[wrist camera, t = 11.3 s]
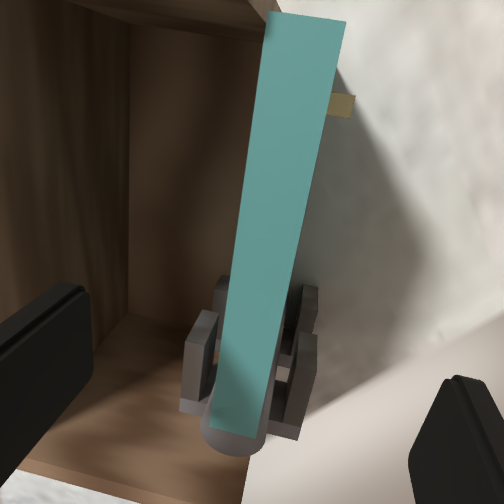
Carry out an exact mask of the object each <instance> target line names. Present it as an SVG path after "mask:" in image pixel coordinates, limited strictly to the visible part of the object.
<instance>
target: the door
mask: <svg viewBox="0 0 504 504" xmlns="http://www.w3.org/2000/svg"><path fill="white" fill-rule="evenodd" d="M345 26H346V22H345V21H338V20H331V19H324V18H317V17H310V16H303V15H296V14H289V13H282V12H276V11H269V10H268V14H267V21H266V28H265V35H264V42H263V49H262V56H261V63H260V70H259V77H258V84H257V91H256V99H255V106H254V113H253V120H252V127H251V134H250V141H249V148H248V155H247V162H246V169H245V176H244V183H243V190H242V198H241V205H240V212H239V219H238V226H237V233H236V240H235V247H234V254H233V261H232V268H231V275H230V282H229V290H228V297H227V304H226V311H225V318H224V325H223V332H222V339H221V346H220V353H219V360H218V367H217V374H216V381H215V384H214V386H213V389H212V392H211V395H210V397H209V400H208V403H207V405H206V408H205V411H204V414H203V416H202V419H201V422H200V432H201V435H202V437H203V438H204V440H205V441H206V443H207V444H208V445H209V446H211V447H212V448H213V449H215V450H216V451H218V452H220V453H222V454H225V455H228V456H234V457H245V456H250V455H253V454H255V453H256V452H258V451H259V450H260V449H261V448H262V447H263V445H264V443H265V438H266V432H267V426H268V420H269V413H270V407H271V401H272V395H273V389H274V382H275V376H276V370H277V364H278V358H279V352H280V345H281V339H282V333H283V327H284V321H285V314H286V308H287V302H288V296H289V292H288V287H289V283H290V278H291V274H292V269H293V264H294V260H295V255H296V251H297V246H298V241H299V237H300V232H301V228H302V223H303V219H304V214H305V209H306V205H307V200H308V196H309V191H310V186H311V182H312V177H313V173H314V168H315V163H316V159H317V154H318V150H319V145H320V140H321V136H322V131H323V127H324V122H325V117H326V115H332V116H338V117H344V118H349V119H350V117H351V113H352V109H353V105H354V100H355V96H354V95H348V94H342V93H336V92H331V90H332V85H333V81H334V76H335V71H336V67H337V62H338V58H339V53H340V48H341V44H342V39H343V35H344V30H345Z"/></svg>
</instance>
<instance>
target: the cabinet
mask: <svg viewBox="0 0 504 504" xmlns="http://www.w3.org/2000/svg"><path fill="white" fill-rule="evenodd" d="M268 10H269V11H276V12H282V11H281V9H280V7H279V5H278V3H277V1H276V0H0V323H2V322H3V321H4V320H6V319H7V318H9V317H10V316H11V315H13V314H14V313H16V312H17V311H19V310H20V309H21V308H23V307H24V306H26V305H27V304H28V303H30V302H31V301H33V300H34V299H36V298H37V297H38V296H40V295H41V294H43V293H44V292H45V291H47V290H48V289H50V288H51V287H53V286H54V285H55V284H57V283H59V282H61V281H65V282H69V283H73V284H78V285H82V286H83V287H84V288H85V290H86V292H87V293H89V295H90V302H91V322H92V342H93V362H94V370H93V374H92V377H91V379H90V380H89V382H88V383H87V384H86V385H85V387H84V388H83V389H82V390H81V391H80V393H79V394H78V395H77V396H76V397H75V399H74V400H73V401H72V402H71V403H70V405H69V406H68V407H67V408H66V409H65V411H64V412H63V413H62V414H61V415H60V417H59V418H58V419H57V420H56V421H55V423H54V424H53V425H52V426H51V427H50V429H49V430H48V431H47V432H46V433H45V435H44V436H43V437H42V438H41V439H40V441H39V442H38V443H37V444H36V445H35V447H34V448H33V449H32V450H31V451H30V453H29V454H28V455H27V456H26V457H25V459H24V460H23V461H22V462H21V463H20V465H19V466H18V467H17V468H16V469H18V470H22V471H26V472H29V473H33V474H36V475H40V476H44V477H47V478H51V479H54V480H58V481H62V482H65V483H69V484H72V485H76V486H80V487H83V488H87V489H90V490H94V491H97V492H101V493H105V494H108V495H112V496H115V497H119V498H123V499H126V500H130V501H133V502H137V503H141V504H241V501H242V496H243V491H244V486H245V481H246V476H247V470H248V465H249V460H250V456H245V457H234V456H228V455H225V454H222V453H220V452H218V451H216V450H215V449H213V448H212V447H211V446H209V445H208V444H207V443H206V441H205V440H204V438H203V437H202V435H201V432H200V422H201V419H202V416H203V414H204V411H205V408H206V405H207V403H208V400H209V397H210V395H211V392H212V389H213V386H214V384H215V381H216V374H217V367H218V360H219V353H220V346H221V339H222V332H223V325H224V318H225V311H226V304H227V297H228V290H229V282H230V275H231V268H232V261H233V254H234V247H235V240H236V233H237V226H238V219H239V212H240V205H241V198H242V190H243V183H244V176H245V169H246V162H247V155H248V148H249V141H250V134H251V127H252V120H253V113H254V106H255V99H256V91H257V84H258V77H259V70H260V63H261V56H262V49H263V42H264V35H265V28H266V21H267V14H268ZM317 312H318V288H317V287H312V286H307V285H304V286H303V290H302V294H301V299H300V303H299V307H298V312H297V316H296V320H295V325H294V329H293V330H292V329H288V328H283V333H282V339H281V345H280V352H279V358H278V364H277V365H278V366H282V367H287V368H290V373H289V377H288V381H287V383H286V382H282V381H278V380H275V382H274V389H273V395H272V401H271V407H270V413H269V420H268V426H267V432H266V433H268V434H272V435H276V436H280V437H284V438H288V439H292V440H296V441H297V440H298V437H299V434H300V430H301V426H302V423H303V419H304V415H305V412H306V408H307V405H308V401H309V397H310V394H311V390H312V387H313V383H314V379H315V376H316V372H317V335H316V334H312V331H313V327H314V323H315V319H316V316H317Z"/></svg>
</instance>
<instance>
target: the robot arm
mask: <svg viewBox="0 0 504 504" xmlns="http://www.w3.org/2000/svg"><path fill="white" fill-rule="evenodd" d="M93 370H94V362H93V342H92V322H91V302H90V295H89V293H87V292H86V290H85V288H84V287H83V286H82V285H78V284H73V283H69V282H65V281H61V282H59V283H57V284H55V285H54V286H53V287H51V288H50V289H48V290H47V291H45V292H44V293H43V294H41V295H40V296H38V297H37V298H36V299H34V300H33V301H31V302H30V303H28V304H27V305H26V306H24V307H23V308H21V309H20V310H19V311H17V312H16V313H14V314H13V315H11V316H10V317H9V318H7V319H6V320H4V321H3V322H2V323H0V488H1V486H2V485H3V484H4V483H5V482H6V480H7V479H8V478H9V477H10V475H11V474H12V473H13V472H14V471H15V469H16V468H17V467H18V466H19V465H20V463H21V462H22V461H23V460H24V459H25V457H26V456H27V455H28V454H29V453H30V451H31V450H32V449H33V448H34V447H35V445H36V444H37V443H38V442H39V441H40V439H41V438H42V437H43V436H44V435H45V433H46V432H47V431H48V430H49V429H50V427H51V426H52V425H53V424H54V423H55V421H56V420H57V419H58V418H59V417H60V415H61V414H62V413H63V412H64V411H65V409H66V408H67V407H68V406H69V405H70V403H71V402H72V401H73V400H74V399H75V397H76V396H77V395H78V394H79V393H80V391H81V390H82V389H83V388H84V387H85V385H86V384H87V383H88V382H89V380H90V379H91V377H92V374H93ZM408 467H409V473H410V478H411V483H412V488H413V493H414V498H415V502H416V504H504V419H503V417H502V416H501V414H500V412H499V410H498V408H497V406H496V404H495V402H494V400H493V398H492V396H491V394H490V392H489V390H488V389H487V387H486V385H485V383H484V382H483V381H481V380H477V379H473V378H469V377H464V376H460V375H454V376H453V377H452V378H451V379H445V380H444V381H443V383H442V385H441V387H440V389H439V391H438V393H437V396H436V398H435V400H434V402H433V404H432V406H431V408H430V410H429V412H428V415H427V417H426V419H425V421H424V423H423V425H422V427H421V429H420V432H419V434H418V436H417V438H416V440H415V442H414V444H413V446H412V448H411V450H410V453H409V458H408Z"/></svg>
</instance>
